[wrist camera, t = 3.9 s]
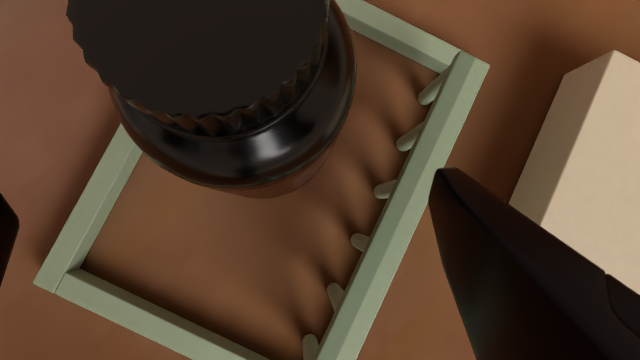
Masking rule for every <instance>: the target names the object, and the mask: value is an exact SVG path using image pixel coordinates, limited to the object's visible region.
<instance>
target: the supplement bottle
mask: <svg viewBox="0 0 640 360" xmlns="http://www.w3.org/2000/svg"><path fill="white" fill-rule="evenodd" d="M68 1H69V2H68V6H67V12H66V16H67V17H68V19H69V21H70V22H71V23H72V25H73V40H74V41H75V42H76V43H77V44H78V45H79V46H80V47H81V48H82V49H83V55H84V58H85V62H86V63H87V64H88V65H89V66H90V67H91V68H92V69H94V70H95V71H97V72H98V74H99V76H100V78H101V80H102V82H103V83H104V84H105V85H106V86H107V87H108V88H109V92H110V96H111V100H112V103H113V106H114V109H115V112H116V114H117V116H118V118H119V120H120V122H121V124H122V125H123V127H124V129H125V130H126V132H127V134H128V135H129V136H130V138H131V139H132V140H133V142H134V143H135V144H136V145H137V146H138V147H139V149H140V150H141V151H142V152H143V153H144V154H145V155H146V156H148V157H149V158H150V159H151V160H152V161H153V162H155V163H156V164H158V165H159V166H160V167H162V168H163V169H165V170H167V171H168V172H170V173H172V174H174V175H175V176H178V177H180V178H182V179H184V180H186V181H189V182H191V183H194V184H197V185H200V186H204V187H207V188H211V189H215V190H219V191H223V192H227V193H231V194H235V195H240V196H244V197H250V198H273V197H278V196H282V195H285V194H288V193H291V192H293V191H295V190H297V189H299V188H300V187H302V186H303V185H305V184H306V183H307V182H309V181H310V180H311V179H312V178H313V177H314V176H315V175H316V174H317V173H318V172H319V170H320V169H321V168H322V166H323V165H324V163H325V162H326V160H327V158H328V156H329V154H330V152H331V150H332V148H333V146H334V144H335V142H336V139H337V137H338V135H339V133H340V131H341V129H342V127H343V124H344V122H345V120H346V118H347V115H348V113H349V110H350V107H351V103H352V99H353V95H354V90H355V83H356V53H355V48H354V42H353V38H352V35H351V32H350V28H349V26H348V23H347V21H346V18H345V16H344V14H343V13H342V11H341V9H340V7H339V5H338V4H337V2H336V1H335V0H68Z"/></svg>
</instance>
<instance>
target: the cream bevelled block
mask: <svg viewBox="0 0 640 360" xmlns="http://www.w3.org/2000/svg"><path fill="white" fill-rule="evenodd" d="M508 204H510V205H511V206H513V207H514V208H515V209H517V210H518V211H520V212H521V213H523V214H524V215H526V216H527V217H528V218H530V219H531V220H533V221H534V222H536V223H537V224H538V225H540V226H541V227H543V228H544V229H546V230H547V231H548V232H550V233H551V234H553V235H554V236H556V237H557V238H558V239H560V240H561V241H563V242H564V243H566V244H567V245H569V246H570V247H571V248H573V249H574V250H576V251H577V252H579V253H580V254H581V255H583V256H584V257H586V258H587V259H589V260H590V261H591V262H593V263H594V264H596V265H597V266H599V267H600V268H601V269H603V270H604V271H605V273H606V274H610V275H612V276H613V277H615V278H616V279H617V280H619V281H620V282H622V283H623V284H625V285H626V286H628V287H629V288H630V289H632V290H633V291H635V292H636V293H638V294H639V295H640V62H638V61H636V60H634V59H632V58H630V57H628V56H626V55H624V54H622V53H620V52H618V51H616V50H612V51H610V52H608V53H606V54H604V55H602V56H600V57H598V58H596V59H594V60H592V61H591V62H589V63H587V64H585V65H583V66H581V67H579V68H577V69H575V70H573V71H571V72H569V73H567V74H565V75H564V77H563V79H562V81H561V83H560V86H559V88H558V90H557V93H556V95H555V97H554V100H553V102H552V104H551V106H550V109H549V111H548V113H547V116H546V118H545V120H544V123H543V125H542V127H541V130H540V132H539V134H538V136H537V139H536V141H535V143H534V146H533V148H532V150H531V153H530V155H529V157H528V159H527V162H526V164H525V166H524V169H523V171H522V173H521V176H520V178H519V180H518V183H517V185H516V187H515V189H514V192H513V194H512V196H511V199H510V201H509V203H508Z"/></svg>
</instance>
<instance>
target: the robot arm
mask: <svg viewBox="0 0 640 360" xmlns="http://www.w3.org/2000/svg"><path fill="white" fill-rule="evenodd" d="M428 203H429V209H430V213H431V218H432V222H433V226H434V230H435V235H436V239H437V243H438V248H439V252H440V256H441V260H442V264H443V268H444V271H445V274H446V277H447V279H448V282H449V285H450V288H451V290H452V293H453V296H454V299H455V301H456V304H457V307H458V310H459V313H460V315H461V318H462V321H463V324H464V326H465V329H466V332H467V335H468V337H469V340H470V343H471V346H472V348H473V351H474V354H475V357H476V359H477V360H640V295H639V294H638V293H636V292H635V291H633V290H632V289H630V288H629V287H628V286H626V285H625V284H623V283H622V282H620V281H619V280H617V279H616V278H615V277H613V276H612V275H610V274H606V273H605V271H604V270H603V269H601V268H600V267H599V266H597V265H596V264H594V263H593V262H591V261H590V260H589V259H587V258H586V257H584V256H583V255H581V254H580V253H579V252H577V251H576V250H574V249H573V248H571V247H570V246H569V245H567V244H566V243H564V242H563V241H561V240H560V239H558V238H557V237H556V236H554V235H553V234H551V233H550V232H548V231H547V230H546V229H544V228H543V227H541V226H540V225H538V224H537V223H536V222H534V221H533V220H531V219H530V218H528V217H527V216H526V215H524V214H523V213H521V212H520V211H518V210H517V209H515V208H514V207H513V206H511V205H510V204H508V203H507V202H505V201H504V200H503V199H501V198H500V197H498V196H497V195H495V194H494V193H493V192H491V191H490V190H488V189H487V188H485V187H484V186H482V185H481V184H480V183H478V182H477V181H475V180H474V179H472V178H471V177H470V176H468V175H467V174H465V173H464V172H462V171H461V170H460V169H458V168H455V167H447V168H438V169H437V170H436V171H435V174H434V177H433V181H432V185H431V189H430V193H429V198H428ZM18 230H19V219H18V217H17V215H16V214H15V212H14V211H13V209H12V208H11V207H10V205H9V204H8V202H7V201H6V200H5V198H4V197H3V196H2V194H1V193H0V286H1V283H2V280H3V277H4V274H5V271H6V268H7V264H8V261H9V258H10V255H11V252H12V249H13V246H14V243H15V240H16V236H17V233H18Z"/></svg>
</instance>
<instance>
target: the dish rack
mask: <svg viewBox="0 0 640 360" xmlns="http://www.w3.org/2000/svg"><path fill="white" fill-rule="evenodd" d="M335 1H336V2H337V4H338V5H339V7H340V9H341V11H342V13H343V14H344V16H345V18H346V21H347V23H348V26H349V28H350V29H352V30H354V31H356V32H358V33H360V34H362V35H364V36H366V37H368V38H370V39H372V40H374V41H376V42H378V43H380V44H382V45H384V46H386V47H388V48H390V49H391V50H393V51H395V52H397V53H399V54H401V55H403V56H405V57H407V58H409V59H411V60H413V61H415V62H417V63H419V64H421V65H423V66H425V67H427V68H429V69H431V70H433V71H435V72H437V73H439V74H440V75H439V76H438V77H436V78H435V79H434V80H433V81H432V82H431V83H430V84H429V85H428V86H427V87H426V88H425V89H424V90H423V91H422V92H421V93H419V95H418V101H419V103H420V104H422V105H428V104H429V103H431V102H432V101H433V100H434V101H433V103H432V105H431V107H430V110H429V112H428V114H427V116H426V118H425V120H424V122H422V123H421V124H419V125H418V126H416V127H415V128H413V129H412V130H411V131H409V132H408V133H406V134H405V135H403V136H402V137H400V138H399V139H398V140H397V141H396V147H397V149H398V150H400V151H407V150H408V149H410V148H411V150H410V152H409V154H408V157H407V159H406V161H405V163H404V165H403V167H402V169H401V172H400V174H399V176H398V178H397V179H396V180H393V181H390V182H386V183H383V184H380V185H377V186H376V187H375V188H374V191H373V192H374V195H375V197H376V198H378V199H384V198H388V199H387V201H386V204H385V206H384V208H383V210H382V212H381V214H380V216H379V219H378V221H377V223H376V225H375V227H374V229H373V231H372V234H371V236H370V237H369V236H366V235H363V234H360V233H355V234H353V235H352V237H351V244H352V245H353V246H354V247H355V248H357V249H359V250H360V251H362V252H363V253H362V255H361V257H360V259H359V261H358V263H357V266H356V268H355V270H354V272H353V274H352V276H351V278H350V281H349V283H348V285H347V287H346V289H345V291H343V290H342V288H341V286H340V285H339V284H337V283H331V284H330V285H329V286H328V287H327V294H328V296H329V299H330V301H331V304H332V306H333V309H334V312H335V313H334V315H333V317H332V319H331V321H330V323H329V325H328V328H327V330H326V332H325V334H324V336H323V338H322V340H321V343H320V345H319V346H318V341H317V338H316V336H315V335H313V334H308V335H306V336H305V337H304V338H303V359H304V360H356V358H357V356H358V354H359V352H360V350H361V347H362V345H363V343H364V341H365V339H366V336H367V334H368V332H369V330H370V328H371V325H372V323H373V321H374V319H375V317H376V315H377V312H378V310H379V308H380V306H381V304H382V301H383V299H384V297H385V295H386V293H387V290H388V288H389V286H390V284H391V282H392V279H393V277H394V275H395V273H396V271H397V269H398V266H399V264H400V262H401V260H402V258H403V255H404V253H405V251H406V249H407V247H408V244H409V242H410V240H411V238H412V236H413V233H414V231H415V229H416V227H417V225H418V222H419V220H420V218H421V216H422V214H423V212H424V209H425V207H426V205H427V203H428V198H429V193H430V189H431V185H432V181H433V177H434V174H435V171H436V170H437V169H438V168H444V166H445V163H446V161H447V159H448V157H449V155H450V152H451V150H452V148H453V146H454V144H455V141H456V139H457V137H458V135H459V133H460V130H461V128H462V126H463V124H464V122H465V120H466V117H467V115H468V113H469V111H470V109H471V106H472V104H473V102H474V100H475V98H476V95H477V93H478V91H479V89H480V87H481V84H482V82H483V80H484V78H485V76H486V73H487V71H488V69H489V67H490V65H489V64H488V63H486V62H484V61H482V60H480V59H478V58H476V57H473V56H472V55H470V54H468V53H466V52H464V51H462V50H460V49H458V48H456V47H454V46H452V45H450V44H448V43H447V42H445V41H443V40H441V39H439V38H437V37H435V36H433V35H431V34H429V33H427V32H425V31H423V30H421V29H419V28H417V27H415V26H413V25H411V24H409V23H407V22H405V21H403V20H401V19H399V18H397V17H395V16H393V15H391V14H389V13H387V12H385V11H383V10H381V9H379V8H377V7H375V6H373V5H371V4H369V3H367V2H365V1H363V0H335ZM141 154H142V151H141V150H140V149H139V147H138V146H137V145H136V144H135V143H134V142H133V140H132V139H131V138H130V136H129V135H128V134H127V132H126V130H125V129H124V127H123V125H122V124H120V126H119V127H118V129H117V131H116V133H115V135H114V136H113V138H112V140H111V142H110V144H109V145H108V147H107V149H106V151H105V153H104V154H103V156H102V158H101V160H100V162H99V164H98V165H97V167H96V169H95V171H94V173H93V174H92V176H91V178H90V180H89V182H88V183H87V185H86V187H85V189H84V191H83V192H82V194H81V196H80V198H79V200H78V202H77V203H76V205H75V207H74V209H73V211H72V212H71V214H70V216H69V218H68V220H67V221H66V223H65V225H64V227H63V229H62V230H61V232H60V234H59V236H58V238H57V239H56V241H55V243H54V245H53V247H52V249H51V250H50V252H49V254H48V256H47V258H46V259H45V261H44V263H43V265H42V267H41V268H40V270H39V272H38V274H37V276H36V277H35V279H34V281H33V284H35V285H37V286H39V287H41V288H43V289H45V290H47V291H49V292H51V293H55V294H56V295H58V296H60V297H62V298H65V299H67V300H69V301H71V302H73V303H75V304H77V305H79V306H81V307H83V308H86V309H88V310H90V311H92V312H94V313H96V314H98V315H100V316H102V317H104V318H107V319H109V320H111V321H113V322H115V323H117V324H119V325H121V326H123V327H125V328H128V329H130V330H132V331H134V332H136V333H138V334H140V335H142V336H144V337H146V338H149V339H151V340H153V341H155V342H157V343H159V344H161V345H163V346H165V347H167V348H170V349H172V350H174V351H176V352H178V353H180V354H182V355H184V356H186V357H188V358H191V359H193V360H270V359H268V358H266V357H264V356H262V355H259V354H257V353H255V352H253V351H251V350H249V349H247V348H245V347H243V346H241V345H239V344H236V343H234V342H232V341H230V340H228V339H226V338H224V337H222V336H220V335H218V334H216V333H213V332H211V331H209V330H207V329H205V328H203V327H201V326H199V325H197V324H195V323H193V322H190V321H188V320H186V319H184V318H182V317H180V316H178V315H176V314H174V313H172V312H170V311H168V310H165V309H163V308H161V307H159V306H157V305H155V304H153V303H151V302H149V301H147V300H145V299H142V298H140V297H138V296H136V295H134V294H132V293H130V292H128V291H126V290H124V289H122V288H119V287H117V286H115V285H113V284H111V283H109V282H107V281H105V280H103V279H101V278H99V277H96V276H94V275H92V274H90V273H88V272H86V271H84V270H82V269H79V268H80V267H81V265H82V263H83V261H84V259H85V257H86V256H87V254H88V252H89V250H90V248H91V246H92V244H93V243H94V241H95V239H96V237H97V235H98V233H99V232H100V230H101V228H102V226H103V224H104V222H105V220H106V219H107V217H108V215H109V213H110V211H111V209H112V208H113V206H114V204H115V202H116V200H117V198H118V197H119V195H120V193H121V191H122V189H123V187H124V185H125V184H126V182H127V180H128V178H129V176H130V174H131V173H132V171H133V169H134V167H135V165H136V163H137V161H138V160H139V158H140V156H141Z"/></svg>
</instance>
